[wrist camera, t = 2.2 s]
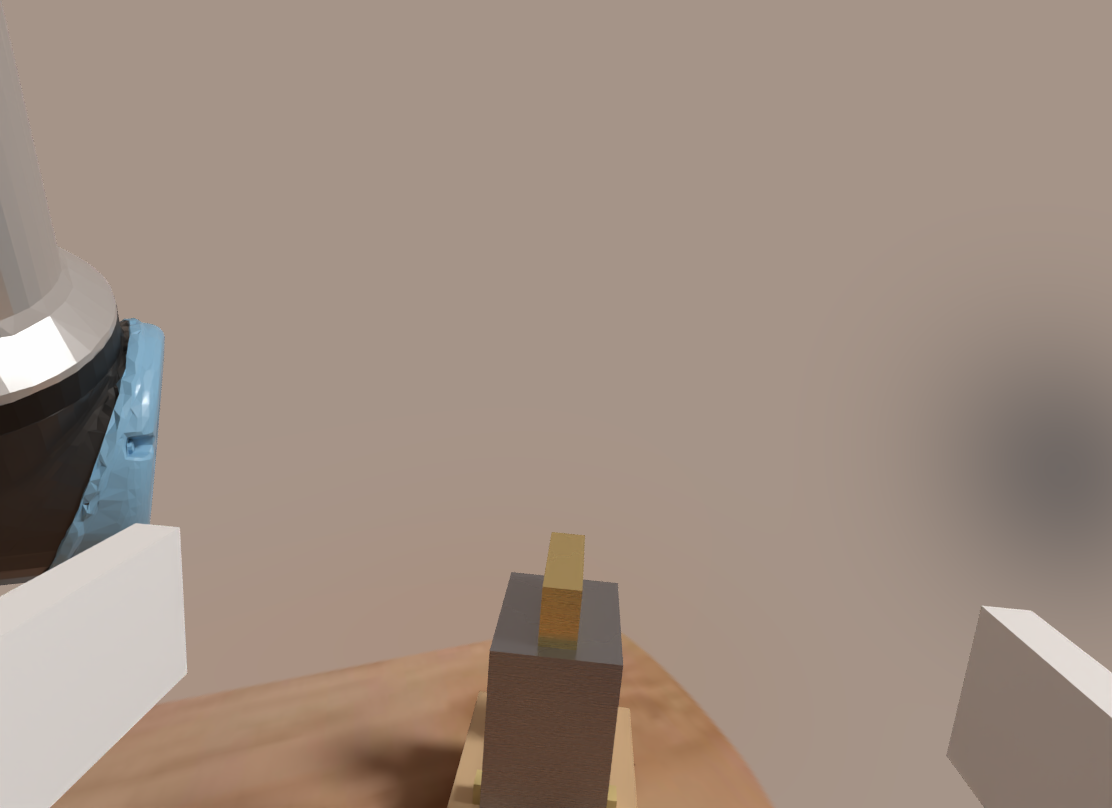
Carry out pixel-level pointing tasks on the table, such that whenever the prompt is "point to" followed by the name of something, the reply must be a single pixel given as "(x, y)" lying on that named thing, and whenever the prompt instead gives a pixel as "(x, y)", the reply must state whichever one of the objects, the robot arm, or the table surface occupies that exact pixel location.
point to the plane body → (470, 767)
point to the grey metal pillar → (553, 687)
